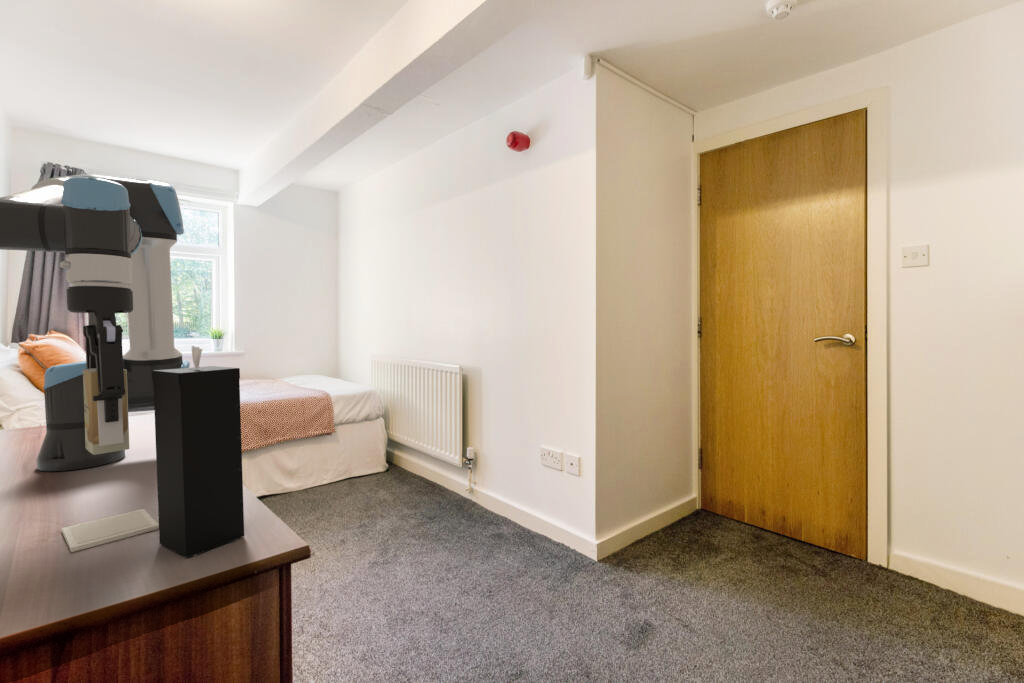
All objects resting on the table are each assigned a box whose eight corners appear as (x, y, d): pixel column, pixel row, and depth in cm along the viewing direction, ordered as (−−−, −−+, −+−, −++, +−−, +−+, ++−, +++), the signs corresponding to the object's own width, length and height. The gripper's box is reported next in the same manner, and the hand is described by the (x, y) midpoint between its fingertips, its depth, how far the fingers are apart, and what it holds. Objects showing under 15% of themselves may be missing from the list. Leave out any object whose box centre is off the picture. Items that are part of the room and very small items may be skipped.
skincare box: (84, 449, 73) (80, 368, 73) (120, 443, 77) (117, 366, 76) (93, 455, 69) (89, 370, 69) (131, 449, 72) (127, 368, 72)
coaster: (61, 532, 73) (61, 527, 73) (143, 512, 81) (143, 508, 80) (71, 552, 66) (70, 547, 66) (159, 528, 74) (159, 524, 74)
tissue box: (185, 559, 64) (178, 347, 63) (158, 545, 68) (150, 346, 67) (245, 537, 71) (239, 345, 70) (216, 525, 75) (210, 344, 74)
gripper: (58, 288, 76) (64, 435, 77) (76, 280, 63) (83, 456, 64) (119, 290, 81) (124, 427, 82) (147, 283, 68) (153, 445, 69)
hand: (106, 439), depth 73 cm, fingers closed on skincare box, 6 cm apart
